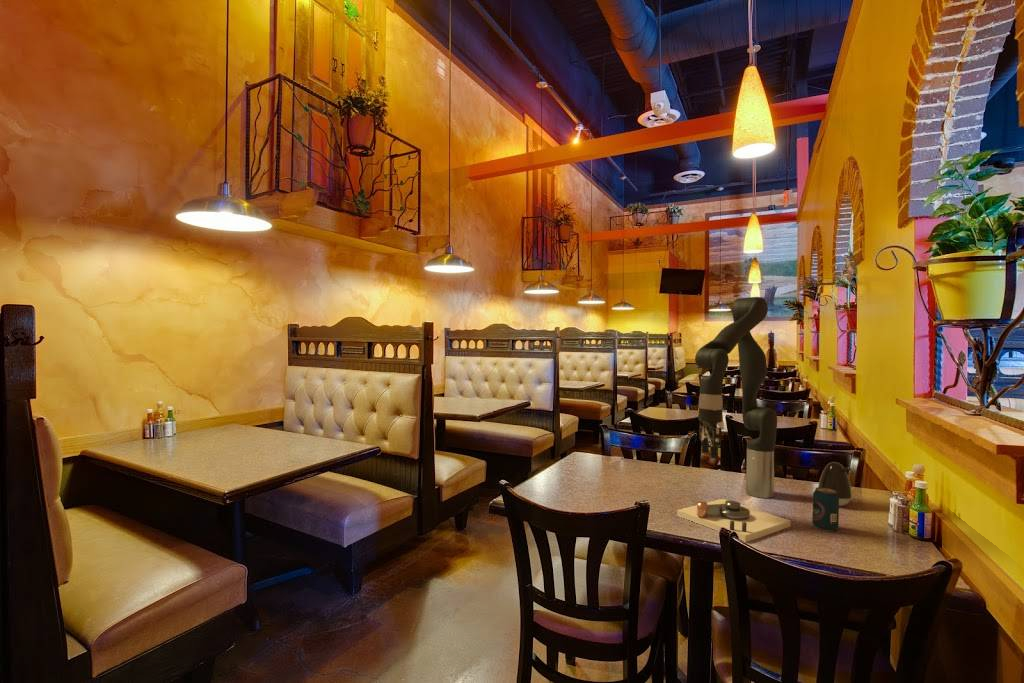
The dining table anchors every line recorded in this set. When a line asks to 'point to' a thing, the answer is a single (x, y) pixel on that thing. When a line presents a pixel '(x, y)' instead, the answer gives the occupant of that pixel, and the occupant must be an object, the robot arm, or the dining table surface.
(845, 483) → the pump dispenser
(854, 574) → the dining table surface
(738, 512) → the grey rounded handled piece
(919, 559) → the dining table surface
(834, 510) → the soda can
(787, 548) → the dining table surface
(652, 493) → the dining table surface
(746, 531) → the base board
